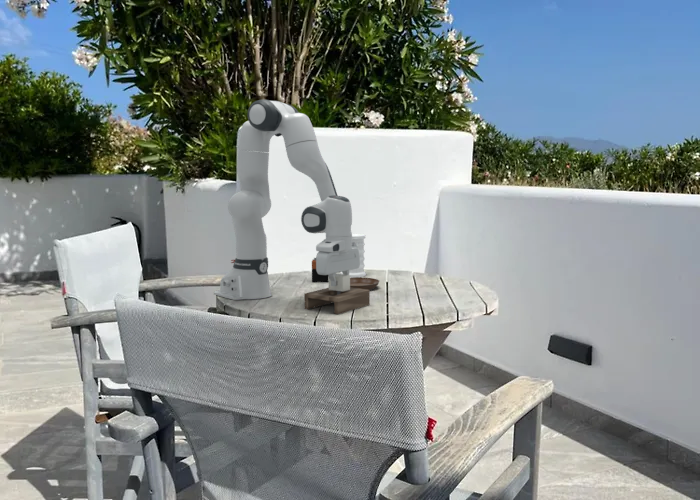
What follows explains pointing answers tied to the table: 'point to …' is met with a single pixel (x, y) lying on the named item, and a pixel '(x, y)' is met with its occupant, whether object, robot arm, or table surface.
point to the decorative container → (360, 244)
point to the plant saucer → (363, 283)
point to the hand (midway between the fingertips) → (339, 284)
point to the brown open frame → (338, 299)
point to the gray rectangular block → (341, 283)
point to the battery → (315, 275)
